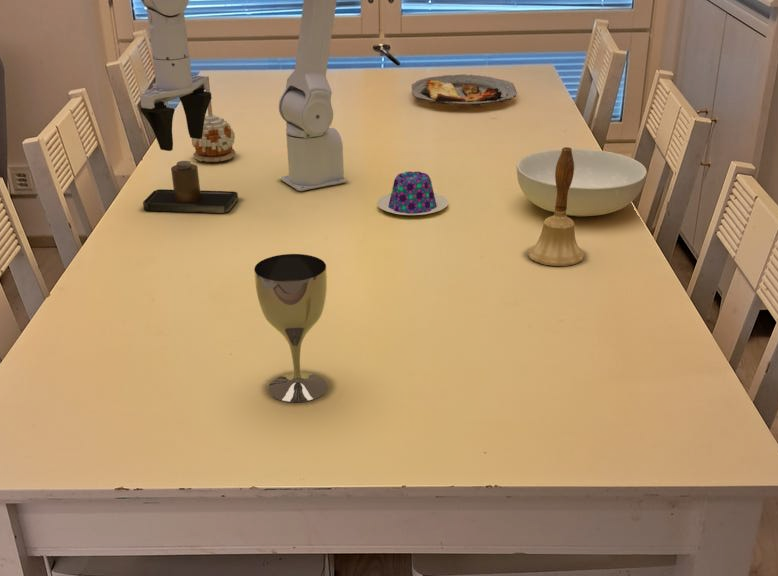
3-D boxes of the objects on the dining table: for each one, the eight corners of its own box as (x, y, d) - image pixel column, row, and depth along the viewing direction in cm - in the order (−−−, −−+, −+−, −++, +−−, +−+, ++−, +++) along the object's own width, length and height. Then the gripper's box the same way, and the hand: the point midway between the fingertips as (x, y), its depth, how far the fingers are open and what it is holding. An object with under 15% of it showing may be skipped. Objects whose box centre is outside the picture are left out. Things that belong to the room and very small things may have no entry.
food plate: (520, 112, 221) (522, 95, 219) (413, 114, 221) (413, 97, 219) (509, 84, 241) (510, 68, 239) (410, 86, 242) (410, 70, 240)
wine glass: (264, 373, 124) (254, 255, 116) (329, 370, 125) (324, 252, 116) (264, 406, 118) (253, 283, 109) (333, 402, 118) (328, 279, 110)
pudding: (362, 208, 172) (361, 177, 169) (408, 190, 179) (409, 160, 176) (416, 224, 165) (416, 192, 162) (462, 205, 172) (463, 174, 169)
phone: (155, 189, 179) (239, 191, 177) (156, 195, 179) (239, 197, 177) (140, 204, 172) (227, 206, 170) (141, 210, 173) (227, 213, 171)
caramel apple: (209, 167, 193) (200, 83, 184) (186, 158, 198) (177, 76, 189) (243, 158, 197) (235, 76, 188) (220, 150, 202) (212, 69, 193)
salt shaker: (196, 197, 177) (191, 157, 173) (205, 205, 174) (200, 163, 170) (172, 202, 176) (166, 161, 172) (181, 209, 172) (175, 168, 168)
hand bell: (587, 248, 155) (599, 142, 146) (578, 269, 149) (590, 158, 140) (533, 243, 158) (541, 137, 149) (522, 263, 151) (530, 154, 142)
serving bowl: (564, 239, 159) (568, 195, 155) (490, 200, 174) (492, 159, 170) (668, 215, 166) (674, 173, 163) (588, 180, 182) (592, 141, 178)
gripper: (180, 45, 168) (190, 129, 176) (120, 63, 158) (133, 151, 166) (214, 49, 165) (223, 135, 173) (155, 67, 155) (167, 157, 163)
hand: (181, 143), depth 169 cm, fingers open, 7 cm apart
